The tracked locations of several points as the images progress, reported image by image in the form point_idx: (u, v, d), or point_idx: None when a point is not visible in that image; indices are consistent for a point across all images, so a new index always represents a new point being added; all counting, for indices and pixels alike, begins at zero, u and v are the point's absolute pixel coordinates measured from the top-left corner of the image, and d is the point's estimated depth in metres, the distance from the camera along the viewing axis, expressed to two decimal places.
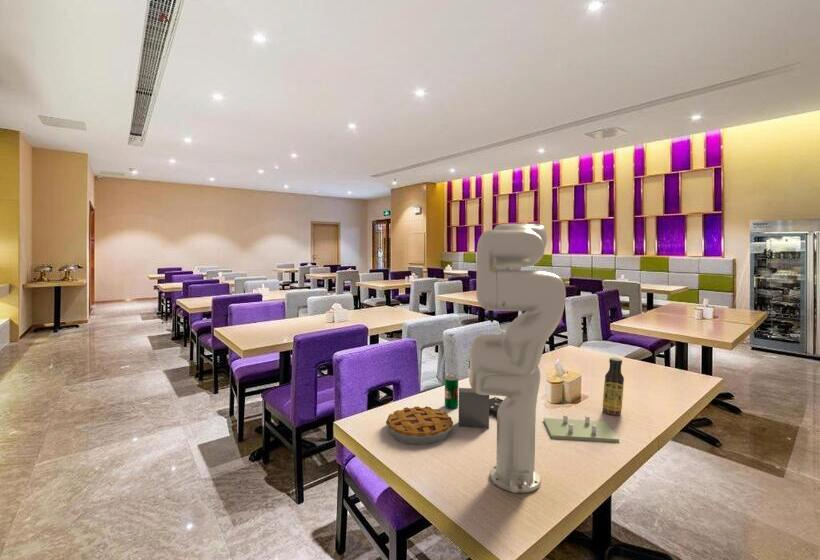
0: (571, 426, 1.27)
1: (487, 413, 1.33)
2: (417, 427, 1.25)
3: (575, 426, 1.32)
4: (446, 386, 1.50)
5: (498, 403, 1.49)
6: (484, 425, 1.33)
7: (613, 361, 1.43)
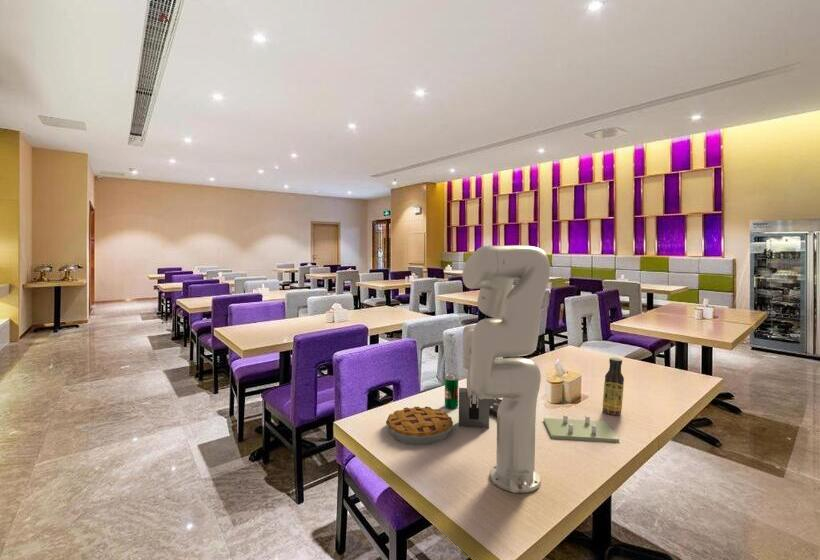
0: (571, 426, 1.27)
1: (487, 413, 1.33)
2: (417, 427, 1.25)
3: (575, 426, 1.32)
4: (446, 386, 1.50)
5: (497, 403, 1.49)
6: (484, 425, 1.33)
7: (613, 361, 1.43)
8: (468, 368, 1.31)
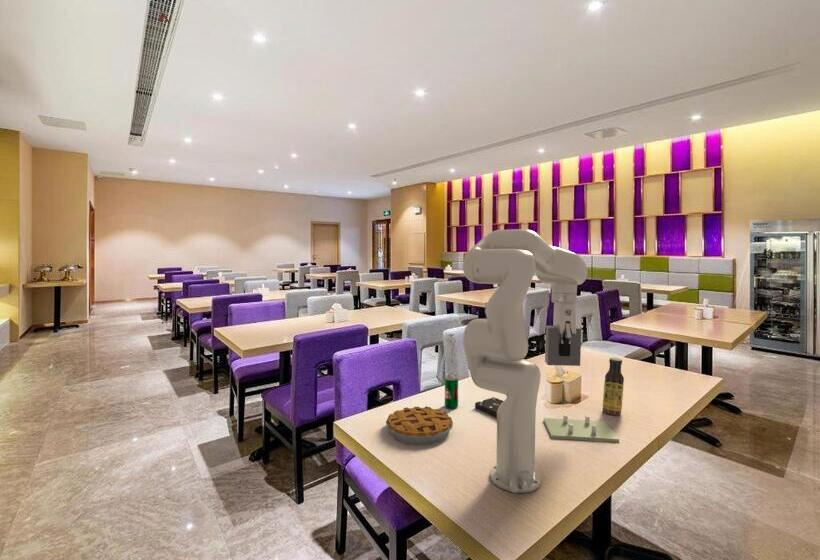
0: (571, 426, 1.27)
1: (578, 349, 1.28)
2: (417, 427, 1.25)
3: (575, 426, 1.32)
4: (446, 386, 1.50)
5: (496, 403, 1.49)
6: (575, 362, 1.28)
7: (613, 361, 1.43)
8: (560, 302, 1.26)
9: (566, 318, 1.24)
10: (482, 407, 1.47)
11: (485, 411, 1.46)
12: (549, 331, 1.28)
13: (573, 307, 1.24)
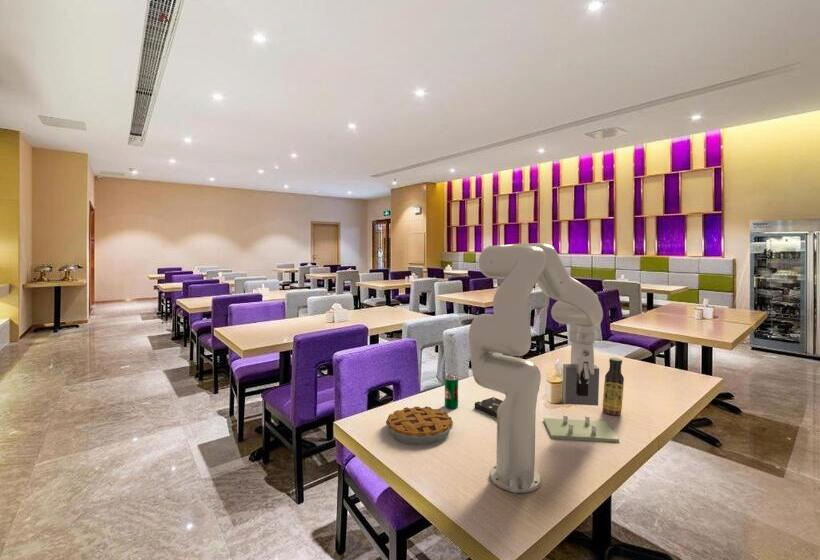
0: (571, 426, 1.27)
1: (596, 389, 1.27)
2: (417, 427, 1.25)
3: (575, 426, 1.32)
4: (446, 386, 1.50)
5: (496, 403, 1.49)
6: (593, 402, 1.28)
7: (613, 361, 1.43)
8: (578, 342, 1.26)
9: (584, 359, 1.24)
10: (482, 407, 1.47)
11: (485, 411, 1.46)
12: (567, 370, 1.28)
13: (591, 348, 1.24)
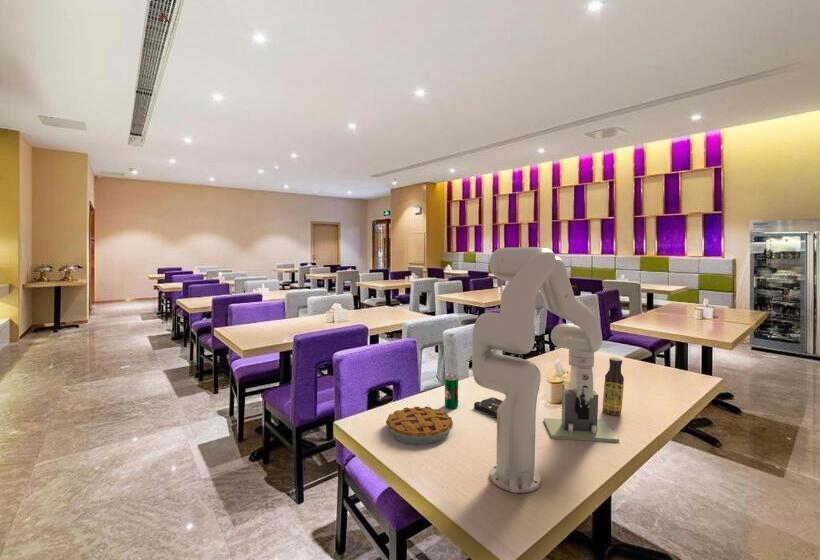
0: (571, 426, 1.27)
1: (595, 415, 1.28)
2: (417, 427, 1.25)
3: None
4: (446, 386, 1.50)
5: (496, 403, 1.49)
6: None
7: (613, 361, 1.43)
8: (577, 366, 1.27)
9: (583, 383, 1.25)
10: (481, 407, 1.47)
11: (484, 411, 1.46)
12: (566, 396, 1.29)
13: (590, 372, 1.25)
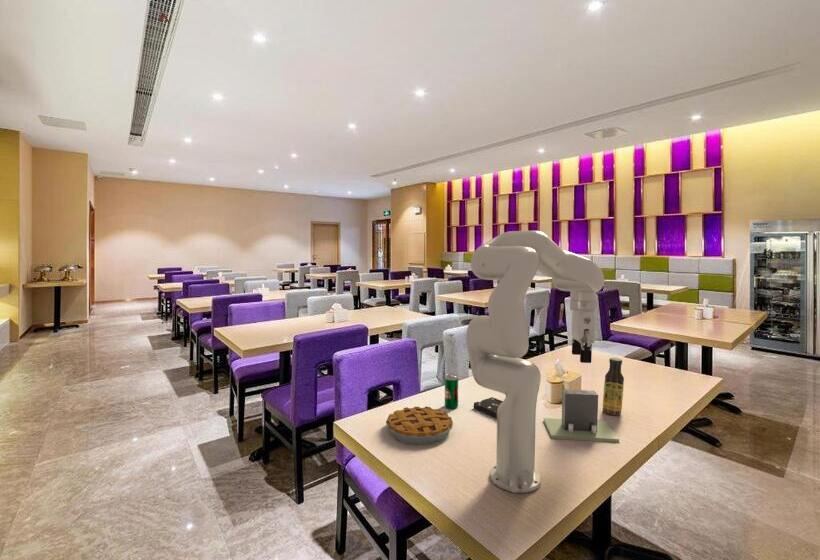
0: (571, 426, 1.27)
1: (595, 415, 1.28)
2: (417, 427, 1.25)
3: None
4: (446, 386, 1.50)
5: (495, 403, 1.49)
6: None
7: (613, 361, 1.43)
8: (579, 310, 1.25)
9: (585, 326, 1.24)
10: (481, 407, 1.47)
11: (484, 411, 1.46)
12: (566, 396, 1.29)
13: (592, 315, 1.24)
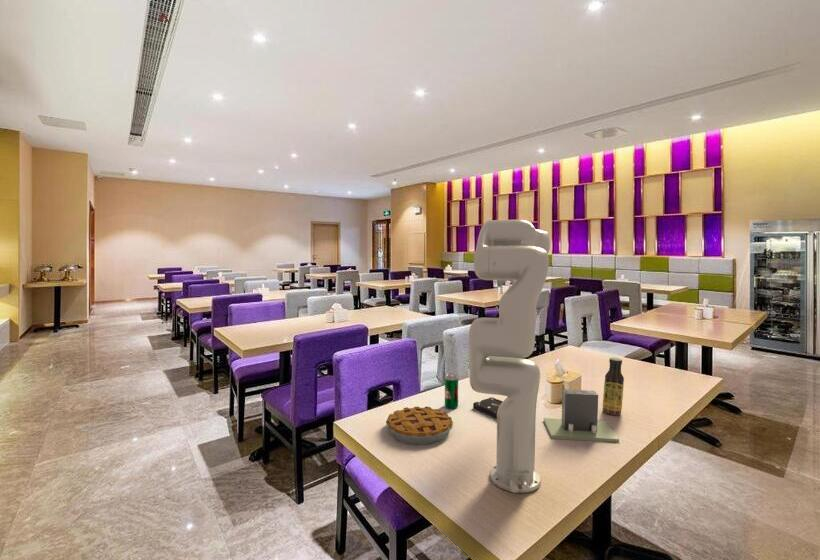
0: (571, 426, 1.27)
1: (595, 415, 1.28)
2: (417, 427, 1.25)
3: None
4: (446, 386, 1.50)
5: (495, 403, 1.49)
6: None
7: (613, 361, 1.43)
8: None
9: None
10: (480, 407, 1.47)
11: (483, 411, 1.46)
12: (566, 396, 1.29)
13: None
